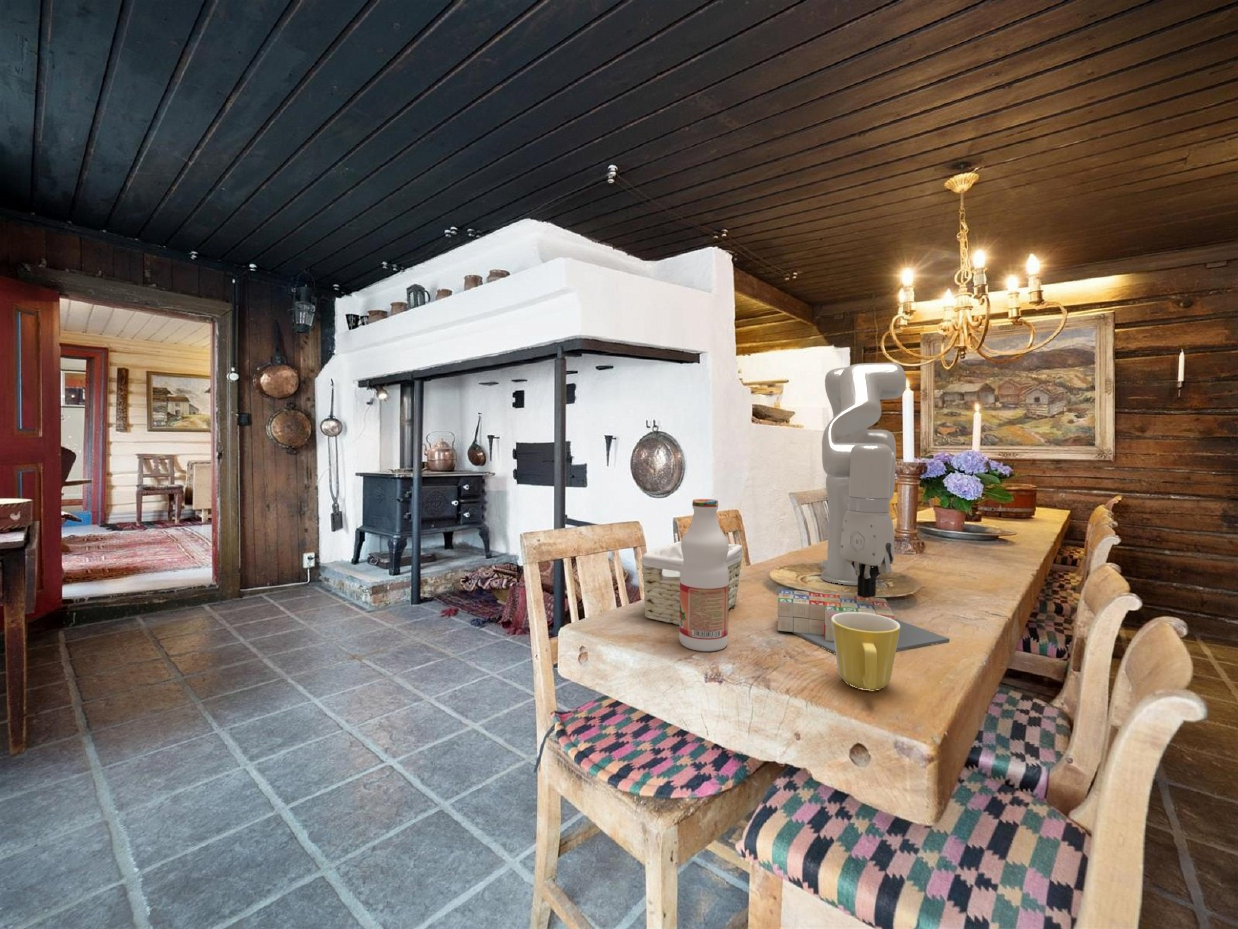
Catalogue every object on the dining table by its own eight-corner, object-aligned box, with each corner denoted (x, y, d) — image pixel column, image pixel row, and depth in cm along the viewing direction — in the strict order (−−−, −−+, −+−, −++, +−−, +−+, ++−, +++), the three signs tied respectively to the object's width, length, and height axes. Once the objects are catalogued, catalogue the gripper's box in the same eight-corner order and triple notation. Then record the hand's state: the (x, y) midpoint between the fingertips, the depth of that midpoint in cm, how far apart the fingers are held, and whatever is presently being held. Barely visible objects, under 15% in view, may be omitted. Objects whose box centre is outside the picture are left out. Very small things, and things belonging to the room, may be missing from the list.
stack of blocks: (778, 616, 123) (776, 635, 111) (779, 588, 122) (776, 604, 111) (885, 627, 116) (894, 648, 104) (886, 598, 116) (895, 616, 104)
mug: (834, 666, 98) (836, 607, 97) (899, 679, 93) (901, 617, 92) (821, 698, 86) (822, 631, 85) (895, 714, 81) (897, 643, 80)
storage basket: (683, 594, 142) (683, 537, 142) (744, 604, 134) (745, 543, 133) (637, 620, 122) (638, 553, 121) (706, 634, 114) (707, 562, 113)
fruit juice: (708, 656, 101) (710, 504, 100) (669, 642, 108) (670, 499, 107) (737, 643, 108) (740, 500, 107) (699, 631, 115) (700, 496, 113)
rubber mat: (792, 633, 114) (792, 630, 114) (887, 618, 124) (887, 615, 124) (846, 660, 100) (847, 657, 100) (949, 641, 110) (949, 638, 110)
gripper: (827, 502, 117) (825, 588, 118) (885, 511, 103) (882, 609, 104) (855, 501, 120) (852, 585, 121) (914, 509, 106) (911, 604, 107)
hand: (866, 596), depth 112 cm, fingers closed
